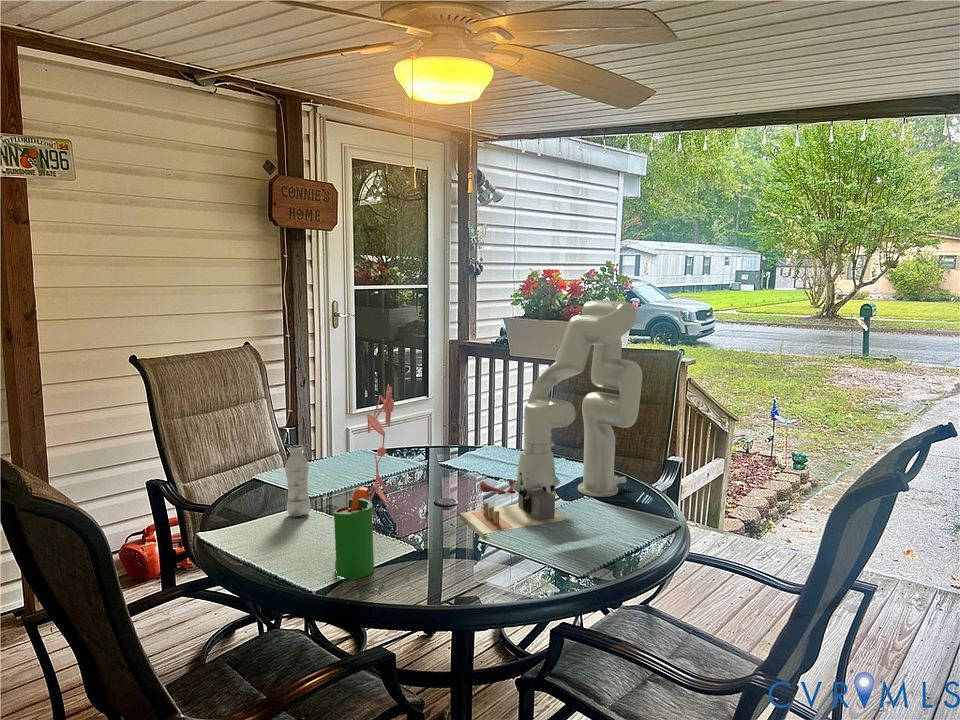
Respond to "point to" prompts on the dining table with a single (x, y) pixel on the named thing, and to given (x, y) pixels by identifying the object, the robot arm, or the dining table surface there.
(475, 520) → the board
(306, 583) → the dining table surface
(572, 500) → the dining table surface
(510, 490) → the pliers
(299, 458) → the plastic bottle
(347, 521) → the green cylindrical container
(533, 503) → the block
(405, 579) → the dining table surface
